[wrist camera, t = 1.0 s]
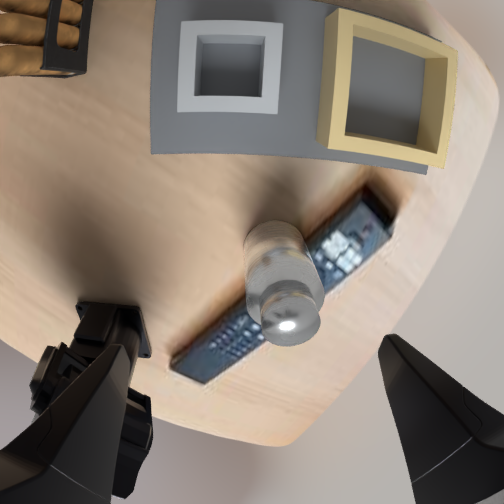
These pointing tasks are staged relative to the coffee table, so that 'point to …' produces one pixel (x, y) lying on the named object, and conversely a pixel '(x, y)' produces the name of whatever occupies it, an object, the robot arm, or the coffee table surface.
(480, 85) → the coffee table surface
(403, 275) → the coffee table surface
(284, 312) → the steel fitting
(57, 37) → the ammunition clip
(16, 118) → the coffee table surface
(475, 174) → the coffee table surface
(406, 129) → the board
